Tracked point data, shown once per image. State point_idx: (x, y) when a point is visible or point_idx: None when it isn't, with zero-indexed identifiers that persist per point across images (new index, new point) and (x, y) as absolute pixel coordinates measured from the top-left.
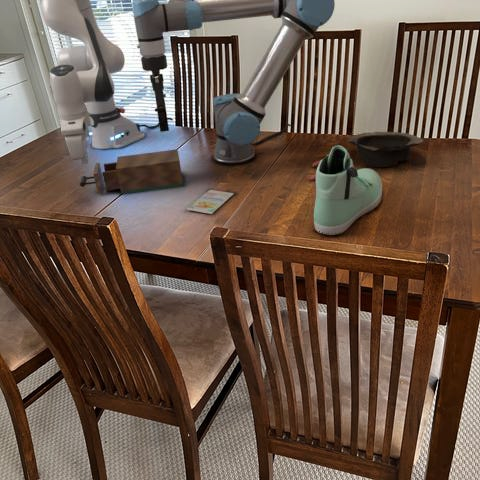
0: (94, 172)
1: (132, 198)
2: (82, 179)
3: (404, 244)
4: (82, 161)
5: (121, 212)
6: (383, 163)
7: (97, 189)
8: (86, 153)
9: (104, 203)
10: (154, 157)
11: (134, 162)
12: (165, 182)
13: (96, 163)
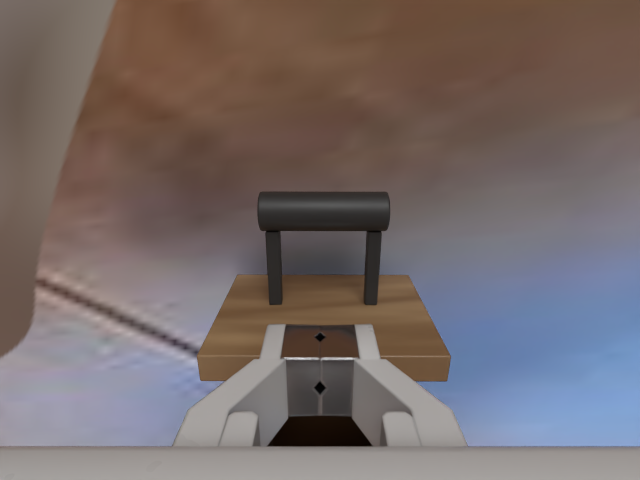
0: (228, 362)
1: (182, 413)
2: (313, 215)
3: None
4: (266, 348)
5: (40, 376)
6: None
7: (230, 290)
8: (374, 439)
9: (148, 300)
10: None
11: None
12: None
13: (435, 363)
